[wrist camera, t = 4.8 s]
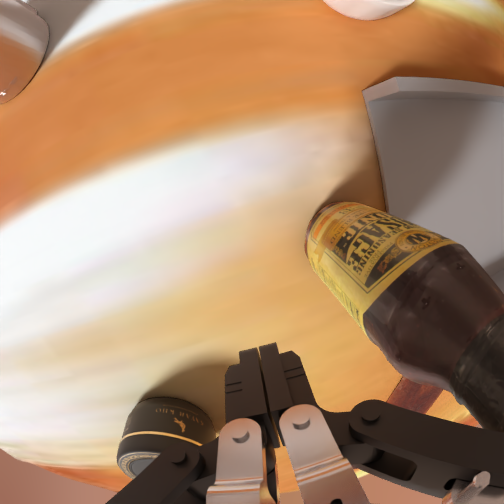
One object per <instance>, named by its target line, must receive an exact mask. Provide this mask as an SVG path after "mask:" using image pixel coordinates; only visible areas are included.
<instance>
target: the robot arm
mask: <svg viewBox="0 0 504 504" xmlns="http://www.w3.org/2000/svg"><path fill="white" fill-rule="evenodd" d="M48 40H49V28H48V25H47V23H46V22H45V20H44V19H42V18H41V17H39V16H38V15H37V10H35V9H34V8H32V7H31V6H29V5H28V4H26V3H25V2H23V1H22V0H0V104H3V103H5V102H8V101H9V100H11V99H12V98H14V97H15V96H16V95H17V94H19V93H20V92H21V91H22V90H23V88H24V87H25V86H26V85H27V84H28V83H29V81H30V80H31V78H32V77H33V76H34V74H35V72H36V71H37V69H38V67H39V65H40V64H41V61H42V59H43V57H44V55H45V52H46V49H47V45H48ZM259 351H260V356H259V352H258V349H257V347H256V348H252V349H248V350H244V351H240V352H239V357H240V364H237V365H232V366H229V368H228V370H227V372H226V374H225V410H226V425H225V426H224V427H223V428H222V430H221V431H220V434H219V437H217V438H216V439H215V440H213V441H211V442H209V443H206V444H204V445H201V446H199V447H195V446H194V445H192V444H190V443H186V442H179V443H175V444H172V445H170V446H169V447H167V448H166V449H165V450H164V451H163V452H162V453H161V454H160V455H159V456H158V457H157V458H156V459H155V460H154V461H153V462H152V463H150V464H149V465H148V466H147V467H146V468H145V469H144V470H143V471H142V472H141V473H140V474H139V475H138V476H136V477H135V478H134V479H133V480H132V481H131V482H130V483H129V484H128V485H126V486H125V487H124V488H123V489H122V490H121V491H120V492H118V493H117V494H116V495H115V496H114V497H113V498H112V499H110V500H109V501H108V502H107V503H106V504H280V495H279V483H278V471H277V464H276V456H275V451H274V448H279V447H280V442H279V437H278V434H279V436H280V439H281V442H282V444H283V446H286V448H287V451H288V454H289V457H290V460H291V464H292V467H293V470H294V473H295V477H296V480H297V483H298V486H299V489H300V492H301V495H302V498H303V501H304V504H370V502H369V500H368V498H367V496H366V494H365V492H364V490H363V488H362V486H361V485H360V482H359V480H358V478H357V476H356V474H355V472H354V470H353V468H352V466H351V465H353V466H354V467H356V468H358V469H360V470H363V471H365V472H367V473H370V474H372V475H375V476H377V477H379V478H382V479H385V480H388V481H390V482H392V483H395V484H398V485H401V486H403V487H406V488H409V489H412V490H415V491H419V492H421V493H425V494H428V495H432V496H435V497H438V498H442V504H504V433H503V432H498V431H492V430H487V429H482V428H478V427H473V426H469V425H464V424H460V423H456V422H452V421H448V420H444V419H440V418H436V417H433V416H429V415H426V414H422V413H419V412H415V411H412V410H409V409H405V408H402V407H399V406H396V405H393V404H390V403H387V402H384V401H380V400H366V401H363V402H361V403H359V404H357V405H356V406H355V407H354V408H353V409H352V410H351V412H339V413H334V412H329V411H326V410H323V409H322V408H320V407H319V406H318V405H317V403H316V401H315V398H314V396H313V393H312V390H311V387H310V384H309V382H308V379H307V376H306V374H305V371H304V368H303V365H302V362H301V360H300V357H299V356H298V355H296V354H295V353H294V352H293V351H289V352H285V353H281V354H279V352H278V348H277V344H276V342H275V343H272V344H268V345H264V346H260V347H259ZM260 357H261V359H260ZM277 431H278V432H277Z"/></svg>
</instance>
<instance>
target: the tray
mask: <svg viewBox="0 0 504 504" xmlns="http://www.w3.org/2000/svg"><path fill="white" fill-rule="evenodd" d="M362 93H363V97H364V100H365V104H366V108H367V112H368V115H369V120H370V124H371V128H372V132H373V137H374V141H375V146H376V151H377V156H378V161H379V166H380V172H381V178H382V184H383V191H384V197H385V205H386V212H387V213H388V214H391V215H394V216H396V217H399V218H401V219H404V220H406V221H410V222H411V223H414V224H416V225H419V226H421V227H423V228H425V229H428V230H430V231H432V232H435V233H437V234H440V235H442V236H444V237H446V238H449V239H451V240H453V241H455V242H457V243H459V244H461V245H463V246H464V247H465V248H466V249H467V250H468V252H469V253H470V254H471V255H472V256H473V257H474V258H475V259H476V261H477V262H478V263H479V264H480V265H481V266H482V268H483V269H484V270H485V271H486V272H487V273H488V275H489V276H490V277H491V278H492V280H493V281H494V282H495V283H496V285H497V286H498V287H499V288H500V290H501V291H502V292H503V294H504V87H502V86H497V85H491V84H485V83H479V82H471V81H463V80H454V79H442V78H426V77H394V78H391V79H389V80H386V81H384V82H381V83H379V84H377V85H374V86H372V87H370V88H367V89H365V90H363V91H362Z"/></svg>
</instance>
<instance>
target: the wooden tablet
mask: <svg viewBox="0 0 504 504" xmlns="http://www.w3.org/2000/svg"><path fill="white" fill-rule="evenodd" d="M442 391H443V389H441V388H439V387H436V386H427V385H423V384H418V383H415V382H413V381H411V380H409V379H407V378H406V377H404V376H403V378H402V379H401V381H400V382H399V384H398V385H397V387H396V389H395V390H394V391H393V393H392V394H391V396H390V397H389V399H388V401H387V403H390V404H393V405H396V406H399V407H402V408H405V409H409V410H412V411H415V412H419V413H422V414H425V413H426V412H427V411H428V410H429V408H430V407H431V406H432V404H433V403H434V402H435V400H436V399H437V398H438V396H439V395H440V394H441V392H442ZM351 466H352V468H353V469H357V468H356V467H354V466H353V465H351Z"/></svg>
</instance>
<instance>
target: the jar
mask: <svg viewBox="0 0 504 504" xmlns="http://www.w3.org/2000/svg"><path fill="white" fill-rule="evenodd" d="M215 439H216V434H215V430H214V427H213V424H212V422H211V420H210V418H209V417H208V416H207V415H206V414H205V413H204V412H203V411H202V410H201V409H200V408H198V407H197V406H195V405H193V404H191V403H189V402H186V401H183V400H180V399H176V398H169V397H156V398H150V399H147V400H144V401H142V402H140V403H139V404H137V405H136V406H135V408H134V409H133V410H132V412H131V413H130V415H129V416H128V419H127V422H126V425H125V429H124V432H123V436H122V439H121V440H120V443H119V449H118V453H117V463H118V466H119V467H120V469H121V470H122V471H123V472H124V473H125V474H126V475H127V476H129V477H130V478H132V479H134V478H135V477H136V476H138V475H139V474H140V473H141V472H142V471H143V470H144V469H145V468H146V467H147V466H148V465H149V464H150V463H152V462H153V461H154V460H155V459H156V458H157V457H158V456H159V455H160V454H161V453H162V452H163V451H164V450H165V449H166V448H167V447H169V446H170V445H172V444H175V443H179V442H186V443H190V444H192V445H194V446H195V447H199V446H201V445H204V444H206V443H209V442H211V441H213V440H215Z"/></svg>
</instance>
